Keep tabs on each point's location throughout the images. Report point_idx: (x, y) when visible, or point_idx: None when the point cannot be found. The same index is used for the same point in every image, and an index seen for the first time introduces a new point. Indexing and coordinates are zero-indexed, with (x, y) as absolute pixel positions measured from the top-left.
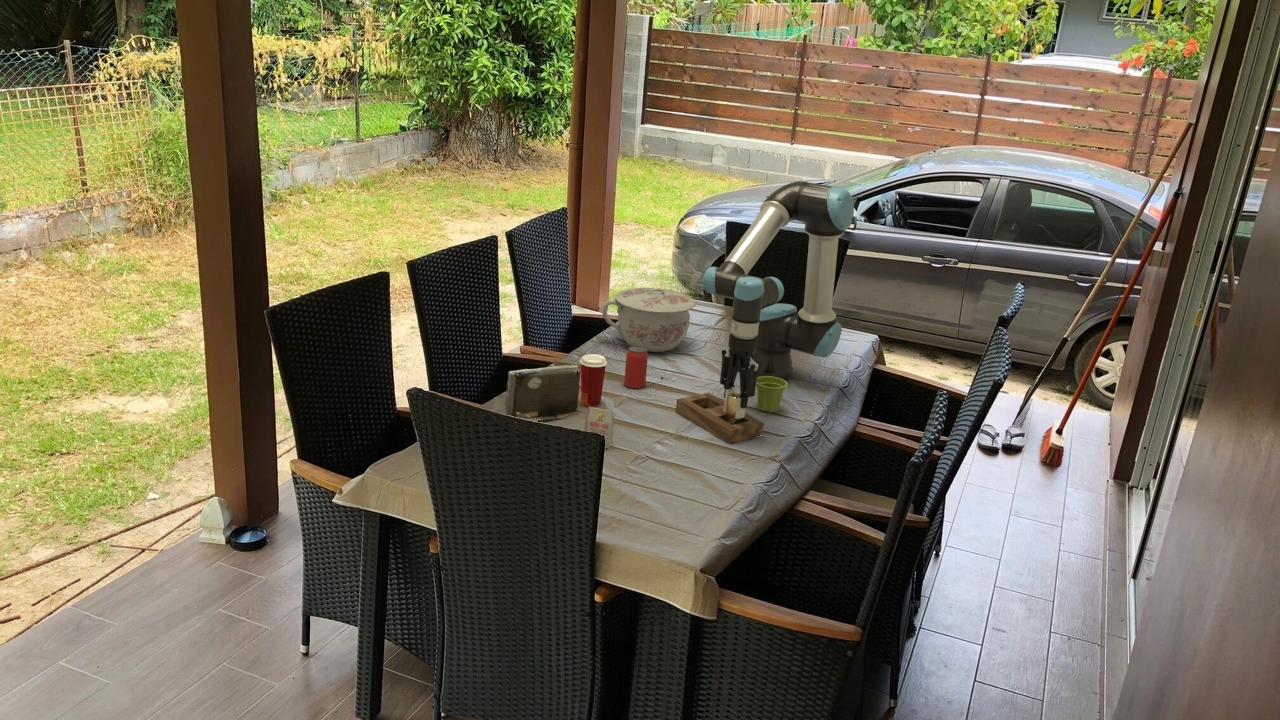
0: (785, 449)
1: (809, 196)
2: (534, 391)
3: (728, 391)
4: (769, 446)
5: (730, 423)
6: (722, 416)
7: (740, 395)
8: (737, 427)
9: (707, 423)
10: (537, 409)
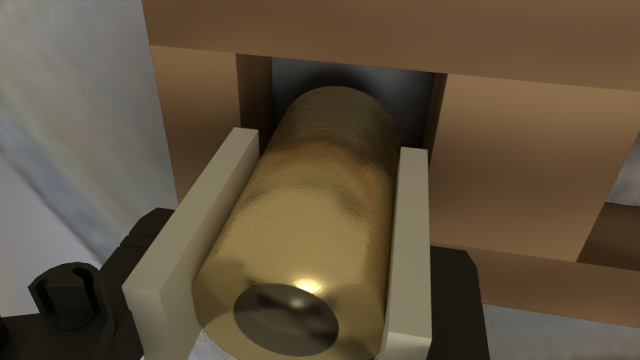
0: (51, 177)
1: None
2: None
3: (386, 329)
4: (98, 139)
5: (311, 96)
6: (436, 129)
7: (87, 307)
8: (176, 56)
9: None
10: None
